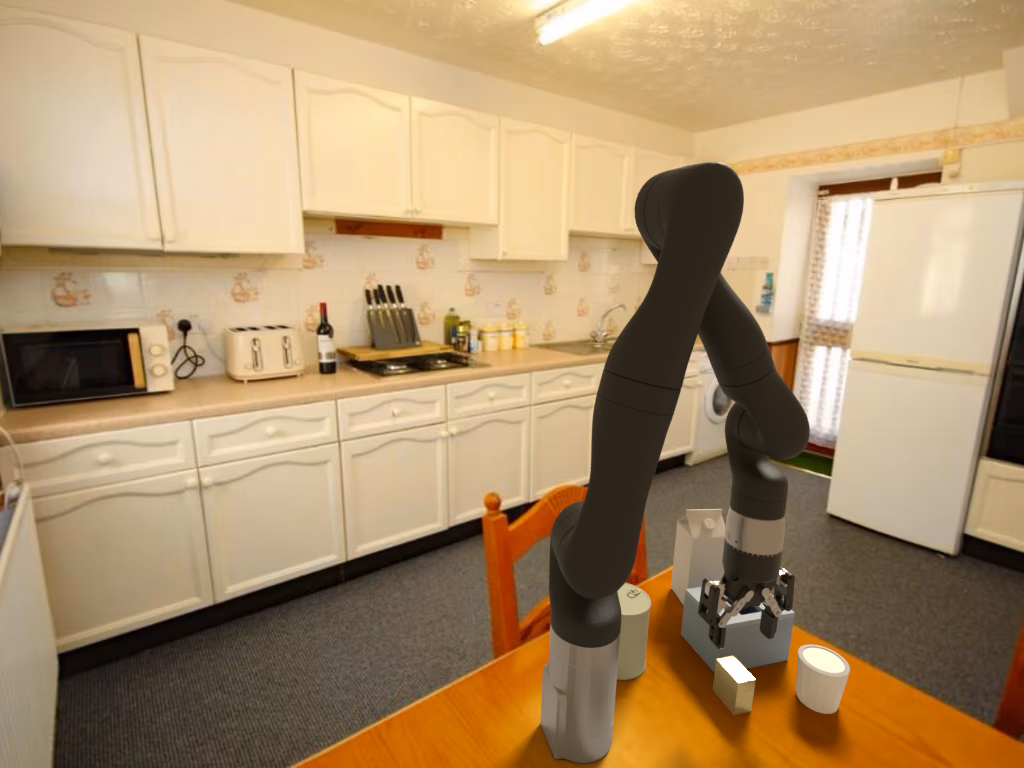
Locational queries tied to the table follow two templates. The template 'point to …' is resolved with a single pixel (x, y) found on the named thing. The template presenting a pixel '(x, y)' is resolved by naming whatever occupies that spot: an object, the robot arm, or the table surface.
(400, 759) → the table surface
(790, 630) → the coin box
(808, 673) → the white cup
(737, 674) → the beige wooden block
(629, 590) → the can
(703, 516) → the milk carton
